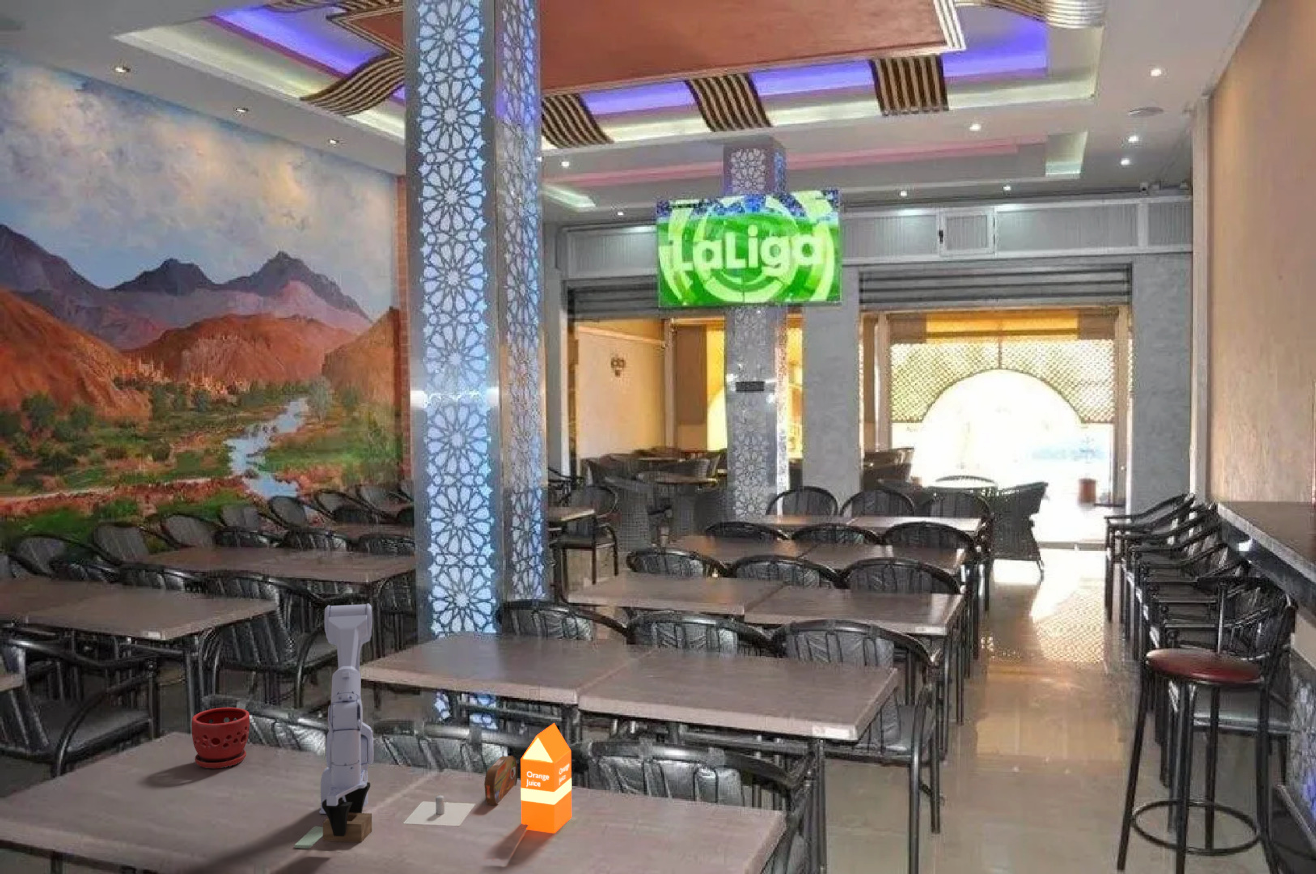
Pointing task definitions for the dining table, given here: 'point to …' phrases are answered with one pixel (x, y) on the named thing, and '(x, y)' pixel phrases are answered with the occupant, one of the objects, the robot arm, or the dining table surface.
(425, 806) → the stand
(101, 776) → the dining table surface
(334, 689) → the robot arm
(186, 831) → the dining table surface
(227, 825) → the dining table surface
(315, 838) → the mat
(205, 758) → the plant pot
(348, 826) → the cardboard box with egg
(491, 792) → the tin
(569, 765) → the orange juice
